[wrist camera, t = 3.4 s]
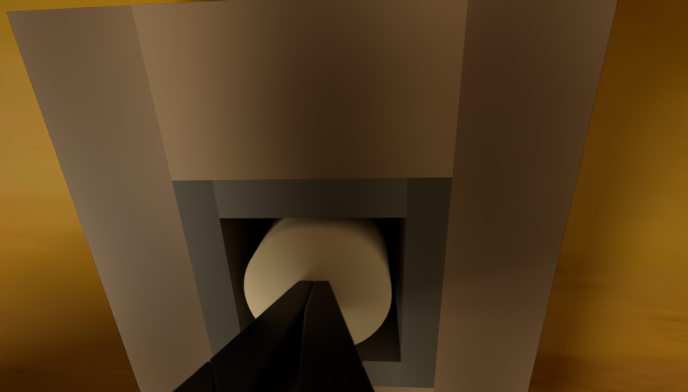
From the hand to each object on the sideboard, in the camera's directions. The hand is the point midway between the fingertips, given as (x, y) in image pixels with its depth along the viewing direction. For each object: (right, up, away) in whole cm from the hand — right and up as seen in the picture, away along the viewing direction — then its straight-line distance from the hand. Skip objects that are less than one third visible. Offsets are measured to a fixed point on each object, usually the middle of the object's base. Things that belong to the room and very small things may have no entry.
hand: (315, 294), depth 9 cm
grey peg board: (+1, -4, +7) cm, 8 cm away
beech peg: (0, +2, +4) cm, 5 cm away
